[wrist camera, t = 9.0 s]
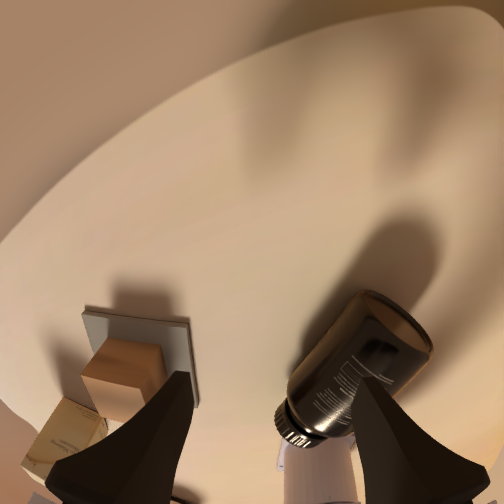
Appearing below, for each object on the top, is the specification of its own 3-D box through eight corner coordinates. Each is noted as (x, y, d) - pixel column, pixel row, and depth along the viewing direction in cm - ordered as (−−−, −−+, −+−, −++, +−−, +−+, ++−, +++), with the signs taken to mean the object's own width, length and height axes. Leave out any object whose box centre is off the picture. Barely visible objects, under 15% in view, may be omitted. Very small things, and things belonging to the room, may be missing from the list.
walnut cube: (170, 387, 24) (154, 430, 19) (121, 378, 24) (100, 416, 19) (161, 345, 22) (139, 388, 17) (107, 336, 22) (80, 374, 17)
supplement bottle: (344, 273, 19) (257, 387, 23) (389, 340, 13) (264, 456, 17) (407, 306, 21) (321, 402, 25) (452, 363, 14) (338, 462, 18)
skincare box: (104, 414, 28) (65, 492, 16) (109, 432, 29) (76, 504, 18) (61, 395, 27) (18, 464, 16) (69, 414, 29) (32, 479, 18)
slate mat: (198, 403, 25) (197, 408, 24) (110, 387, 25) (108, 391, 25) (188, 323, 22) (186, 328, 21) (84, 310, 22) (81, 314, 21)
